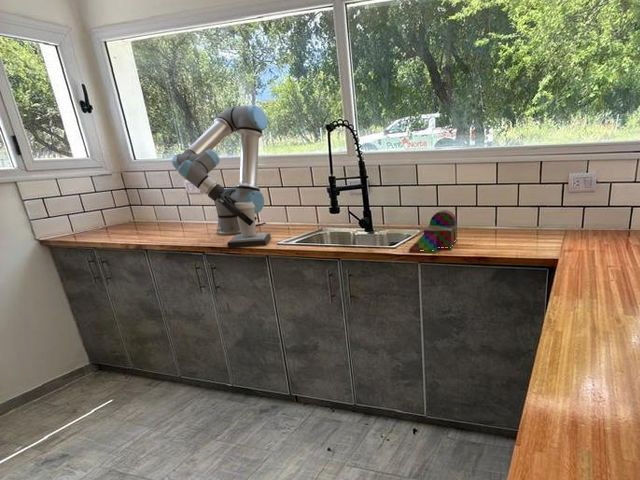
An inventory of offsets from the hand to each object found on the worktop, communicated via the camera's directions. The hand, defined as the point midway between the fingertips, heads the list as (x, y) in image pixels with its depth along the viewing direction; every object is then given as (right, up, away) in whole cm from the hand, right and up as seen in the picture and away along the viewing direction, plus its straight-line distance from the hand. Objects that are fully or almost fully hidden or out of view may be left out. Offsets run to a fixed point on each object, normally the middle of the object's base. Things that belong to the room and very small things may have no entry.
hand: (253, 222), depth 214 cm
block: (+86, -14, -15) cm, 88 cm away
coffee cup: (-3, -6, +2) cm, 7 cm away
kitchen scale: (-3, -9, +3) cm, 10 cm away
